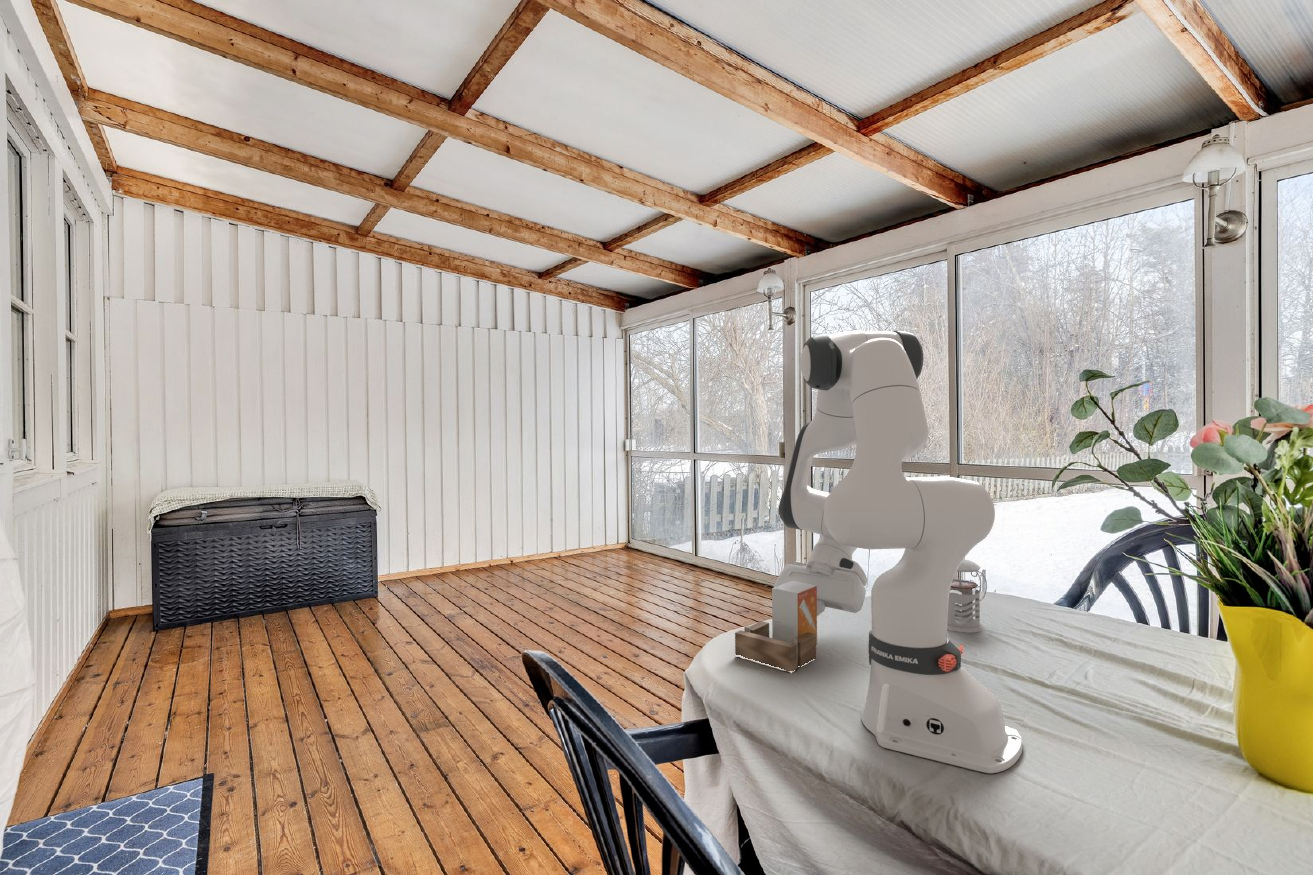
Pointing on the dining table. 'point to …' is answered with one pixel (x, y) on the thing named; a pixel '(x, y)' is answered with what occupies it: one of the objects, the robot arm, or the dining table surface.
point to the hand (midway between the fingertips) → (806, 620)
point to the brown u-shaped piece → (774, 647)
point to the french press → (965, 601)
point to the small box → (794, 610)
